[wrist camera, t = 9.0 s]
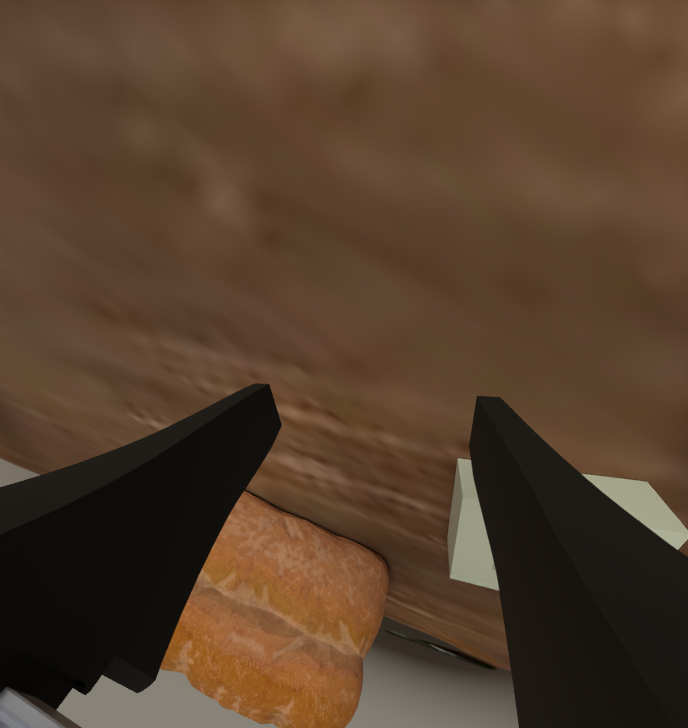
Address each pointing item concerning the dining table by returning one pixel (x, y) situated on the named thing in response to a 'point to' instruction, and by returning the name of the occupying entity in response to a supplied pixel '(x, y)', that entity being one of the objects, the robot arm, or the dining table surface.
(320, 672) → the bread
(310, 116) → the dining table surface
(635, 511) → the socket block
